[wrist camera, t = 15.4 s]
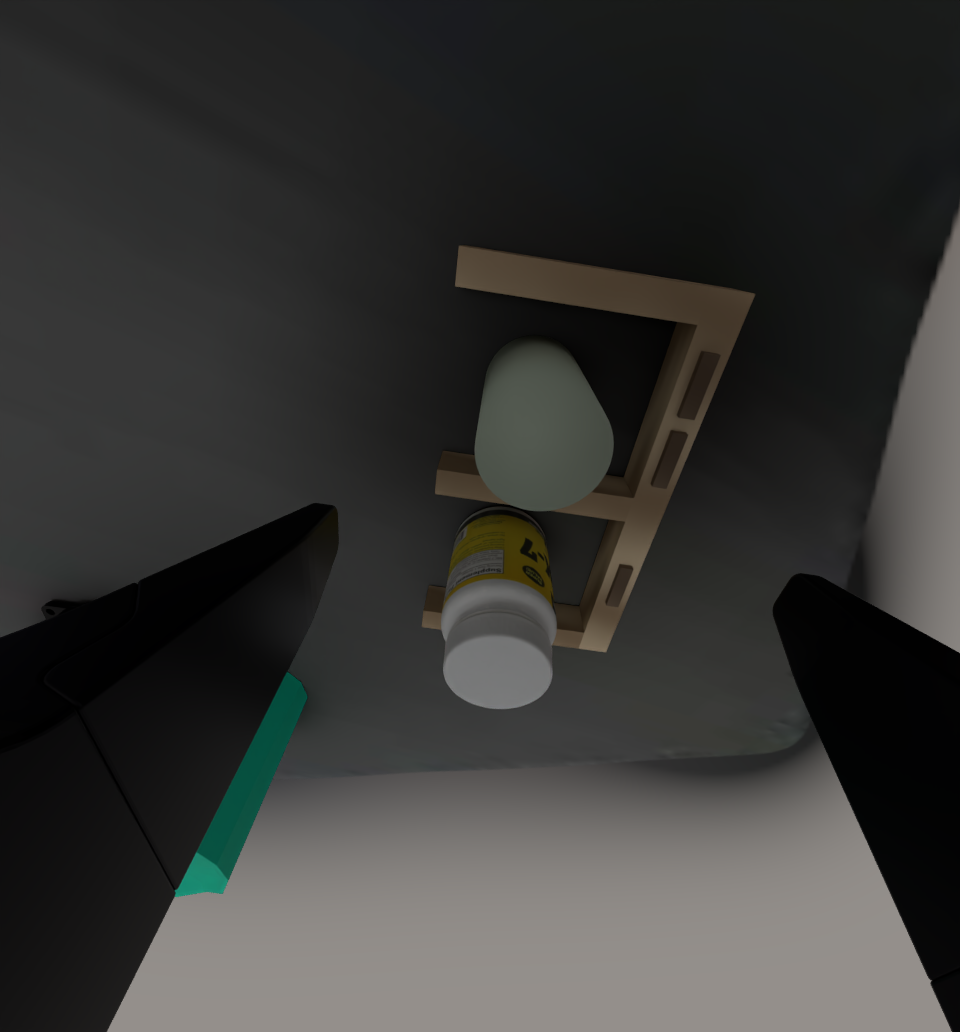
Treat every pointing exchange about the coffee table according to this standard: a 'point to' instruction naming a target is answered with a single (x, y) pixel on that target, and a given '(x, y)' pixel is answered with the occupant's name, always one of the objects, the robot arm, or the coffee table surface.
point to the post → (540, 427)
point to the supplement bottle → (499, 611)
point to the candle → (245, 794)
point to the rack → (664, 431)
